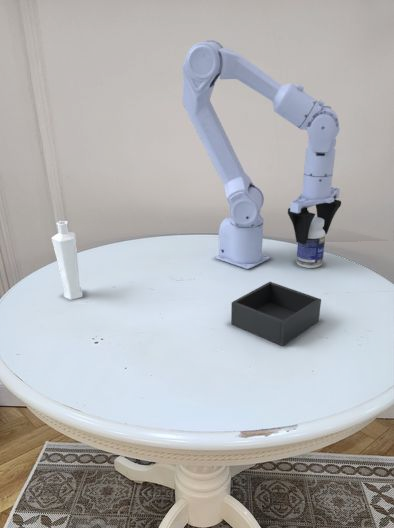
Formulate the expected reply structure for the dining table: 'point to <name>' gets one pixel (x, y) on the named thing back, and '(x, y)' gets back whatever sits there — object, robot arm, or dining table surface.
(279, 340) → the basket
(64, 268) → the perfume bottle
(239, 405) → the dining table surface
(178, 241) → the dining table surface
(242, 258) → the robot arm
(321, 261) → the pill bottle
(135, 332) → the dining table surface
